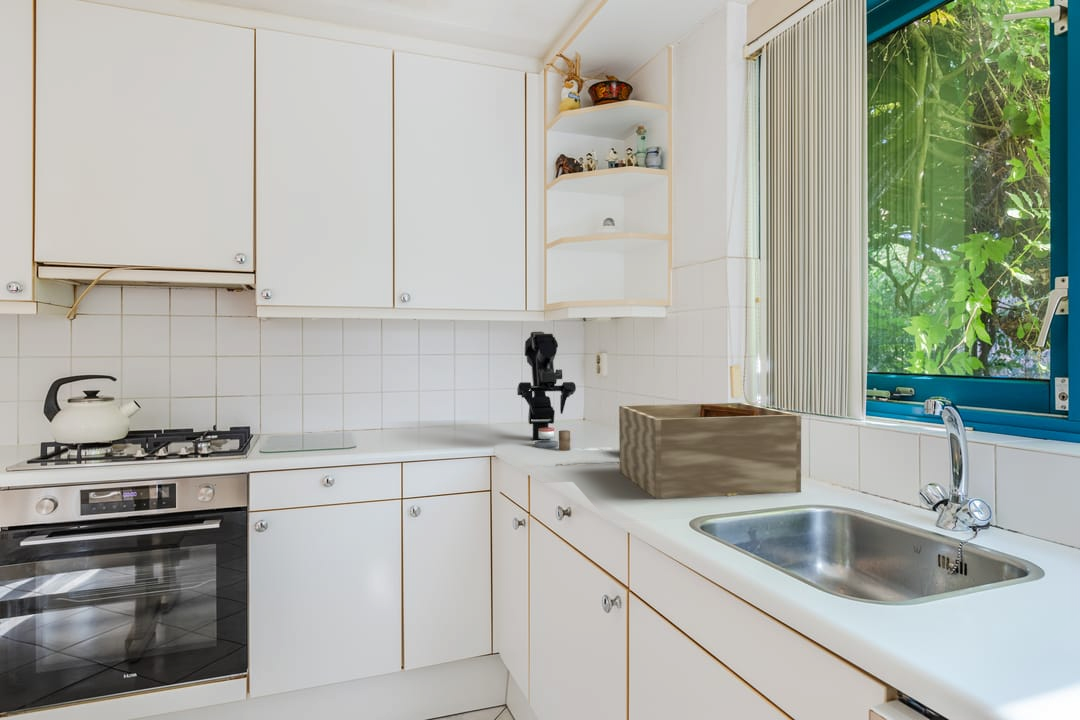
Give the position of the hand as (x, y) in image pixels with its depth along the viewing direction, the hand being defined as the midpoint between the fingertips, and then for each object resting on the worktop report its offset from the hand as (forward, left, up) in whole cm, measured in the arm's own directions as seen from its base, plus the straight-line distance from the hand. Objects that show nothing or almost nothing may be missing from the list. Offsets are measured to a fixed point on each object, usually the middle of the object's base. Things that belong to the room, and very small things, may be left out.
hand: (547, 413), depth 197 cm
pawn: (+6, +4, -11) cm, 13 cm away
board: (+2, +8, -12) cm, 15 cm away
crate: (+49, +32, -12) cm, 60 cm away
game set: (+49, +32, -13) cm, 60 cm away
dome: (-2, 0, -8) cm, 8 cm away
